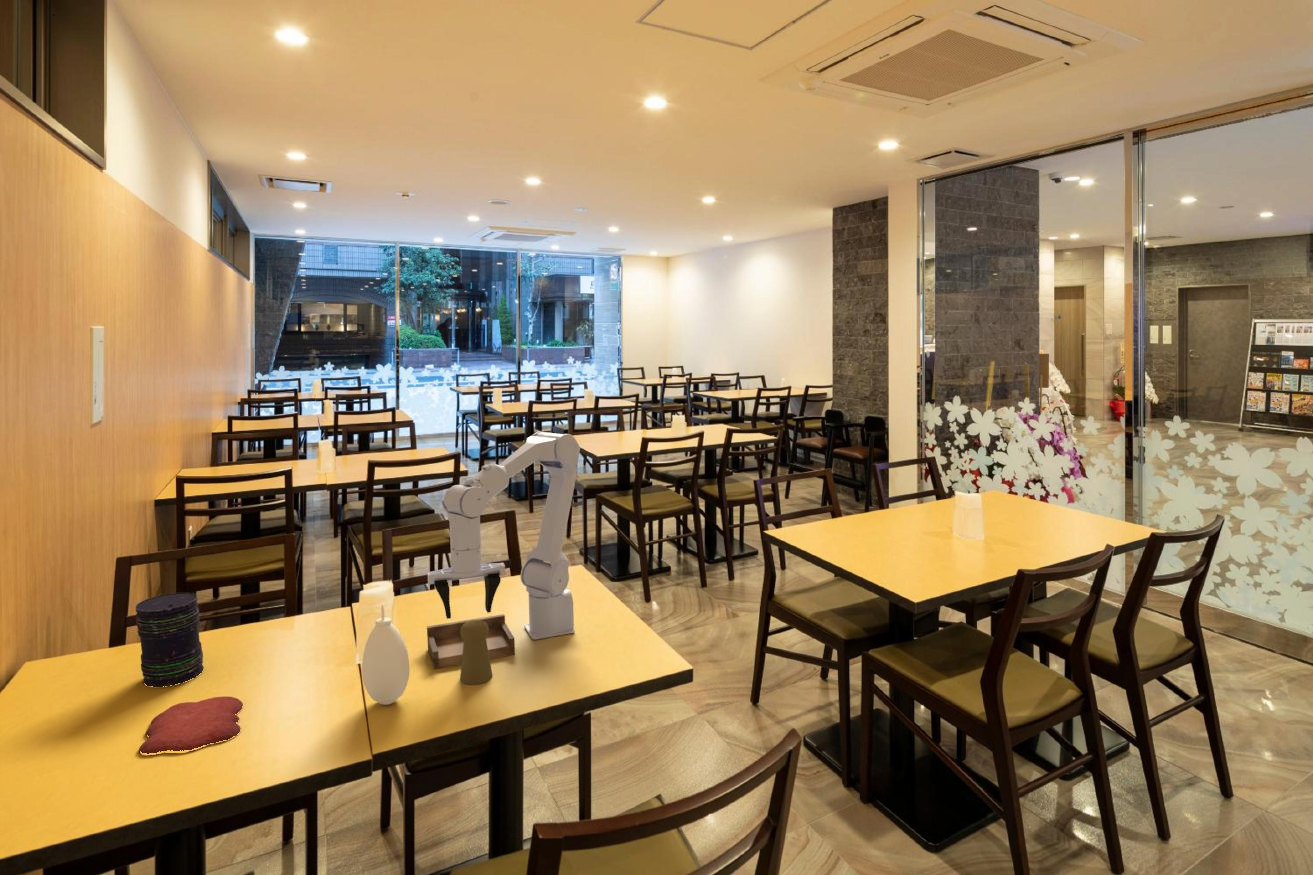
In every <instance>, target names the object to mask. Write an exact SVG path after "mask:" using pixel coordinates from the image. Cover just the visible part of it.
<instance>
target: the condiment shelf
mask: <svg viewBox="0 0 1313 875" xmlns="http://www.w3.org/2000/svg"><path fill="white" fill-rule="evenodd" d="M471 620H481V621H484V622H486V624H487V625H488V628H489V632H488V636H487V638H486V642H487V647H488V653H489V658H490V660H492V659H497V658H502V657H508V656H513V655H515V654H516V650H515V649H516V647H515V645H516V644H515V643H516V642H515V641H516V640H515V637H514V635H513V634H512V631H511V630H510V629H509V627H508V625H507V624H506V615H505V614H504V613H503V614H497V615H491V616H483V617H478V618H472V619H465V620H458V621H452V622H448V623H447V622H446V623H445V622H444V623H441V624H434V625H428V626H426V636H427V652H428V653H429V654H428V655H429V657H430V661H431V663H432V664H431V665H432V668H433V670H436V669H443V668H448V667H455V666H459V665H461V664H462V653H463V643H464V641H463V639H462V638H461V634H460V630H461V627H462V625H463V624H464V623H466V622H468V621H471Z"/></svg>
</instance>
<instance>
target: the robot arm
mask: <svg viewBox="0 0 1313 875" xmlns="http://www.w3.org/2000/svg"><path fill="white" fill-rule="evenodd" d="M580 451H581V447H580V444H579V443H578V441H577V439H576V438H575V437H574V435H572V434H570V433H563V434H562V433H554V432H545V431H542V430H541V431H540V430H539V431H536V432H534V433H533V434H532V435H530V436H529V437H526V440H525V443H523V444H522V445H521V446H519V448H518V449H517V450H515V451H514V452H512V454H510V455H509V456H508V457H507V458H506V459H504V460H503V461H502V462H501V463H500V464H495V463H490V464H487V463H486V464H484V465H483V466H481V470H479V472H477V473H476V474H475V475H473V476H472V477H470V478H469V477H467V478H466V479H464V482H463V483H462V485H461V484H455V485H452V486H450V488H449V489H448V490H447V491H446V492H445V494H444V497H443V500H441V505H442V508H443V510H444V511H445V512H446V513H447V514H446V515H447V521H449V540H450V541H449V543H450V563H451V565H450V566H451V567H447V568H445V567H444V568H442V569H437V570H432V571H427V582H428V585H430V586H431V585H434V588H435V589H436V591H437V593H438V595H439V597H440V600H441V601H442V604H443V607H444V611H445V612H444V613H445V617H446V619H447V620H448V619H452V613H451V606H450V591H451V590H450V586H449V582H453V581H457V580H465V579H467V580H468V579H474V578H480V577H482V578H483V579H484V589H485V590H484V591H485V594H484V595H485V596H484V597H485V598H484V606H485V607H484V608H485V611H486V612H487V614H488V613H489V614H490V613H492V606H493V601H494V599H495V598H494V597H495V595H496V593H497V590H498V588H499V586H500V584H501V581H502V579H501V577H500V576H505V575H506V565H505V563H504V562H498V563H497V562H495V563H482V562H483V561H482V541H481V538H482V536H481V515H482V514H483V513H484V511H485V509H486V506H487V504H488V503H489V502H490V501H491V500H492V499H494V498H495V497H496V496H497V495H499V494H500V493H501V492H503V491H504V490H505V489H506V488H508V486H509V484H510V479H511V478H512V477H514V476H515V475H517V474H518V473H520V472H522V471H523V470H525V469H526V468H528V467H529V466H531V465H533V464H534V463H535V462H537V463H539V464H540V465H542V467H544V468H545V470H546V471H547V472H548V474H549V476H550V480H549V486H548V492H547V496H546V501H545V506H544V511H543V516H542V519H541V520H542V521H541V525H540V532H539V535H538V540H537V545H536V547H535V548H533V549H531V551H529V552H528V553H527V556H526V560H525V562H524V563H523V566H522V567H521V570H520V576H519V577H520V581H521V583H522V585H523V586H525V589H526V592H527V593H528V615H529V616H528V622H529V623H528V624H524V629H525V630H526V631H527V634H528V635H529V636H530V638H531V639H532V640H534V641H535V640H540V639H547V638H551V637H557V636H563V635H567V634H574V633H575V632H576V631H575V630H576V629H575V620H574V617H575V614H574V599H573V595H572V591H571V590H570V589H569V588H567V587H568V585H569V582H570V575H569V574H570V573H569V566H570V561H569V559H568V558H567V556H566V555H565V553H564V552H563V545H564V541H565V537H566V536H565V535H566V529H567V526H568V520H569V516H570V510H571V505H572V502H573V495H574V490H575V487H576V486H575V485H576V479H577V475H578V461H579V455H580Z"/></svg>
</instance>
